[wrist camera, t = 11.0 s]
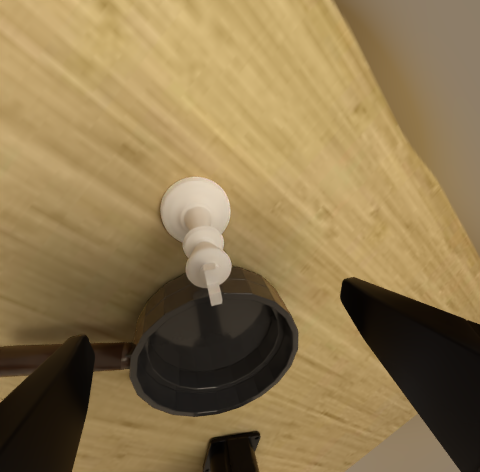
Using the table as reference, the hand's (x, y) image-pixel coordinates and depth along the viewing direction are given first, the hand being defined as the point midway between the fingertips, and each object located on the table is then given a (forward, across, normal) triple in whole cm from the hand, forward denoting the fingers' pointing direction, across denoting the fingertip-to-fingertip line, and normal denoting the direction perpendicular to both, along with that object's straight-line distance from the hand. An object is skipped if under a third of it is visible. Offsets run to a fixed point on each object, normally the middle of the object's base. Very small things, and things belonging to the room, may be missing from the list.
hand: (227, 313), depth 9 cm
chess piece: (+11, 0, 0) cm, 11 cm away
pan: (+11, 0, +11) cm, 15 cm away
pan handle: (+9, +10, +8) cm, 16 cm away
